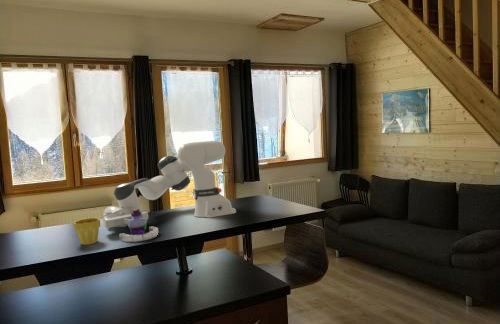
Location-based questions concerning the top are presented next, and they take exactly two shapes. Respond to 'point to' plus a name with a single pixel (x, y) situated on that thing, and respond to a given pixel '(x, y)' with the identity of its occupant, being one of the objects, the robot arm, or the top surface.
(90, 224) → the plant pot
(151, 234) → the white segmented arc
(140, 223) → the potion bottle
